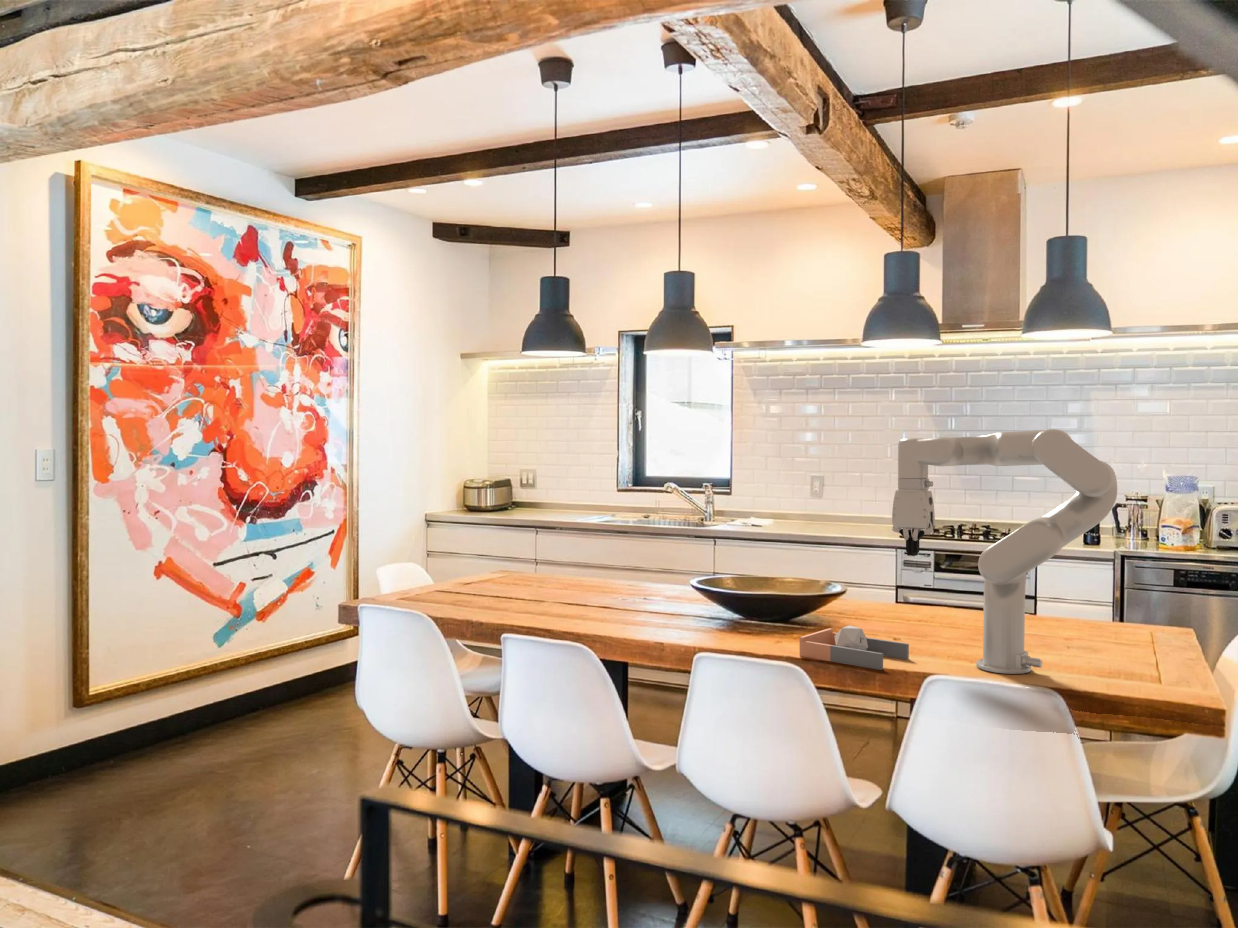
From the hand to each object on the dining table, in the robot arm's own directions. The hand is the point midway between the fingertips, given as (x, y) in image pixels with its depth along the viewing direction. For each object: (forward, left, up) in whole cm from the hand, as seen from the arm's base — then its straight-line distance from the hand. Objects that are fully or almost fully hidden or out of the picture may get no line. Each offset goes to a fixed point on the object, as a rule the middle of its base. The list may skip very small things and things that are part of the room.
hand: (912, 555), depth 238 cm
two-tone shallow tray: (+11, +10, -27) cm, 31 cm away
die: (+13, +9, -27) cm, 31 cm away
